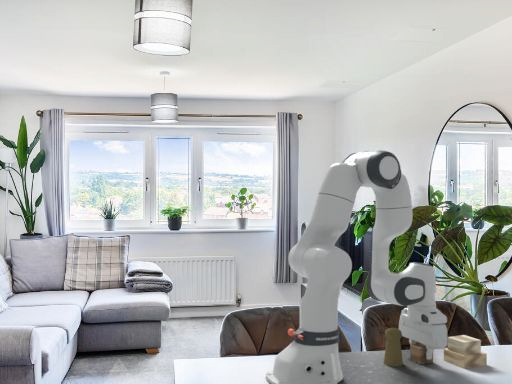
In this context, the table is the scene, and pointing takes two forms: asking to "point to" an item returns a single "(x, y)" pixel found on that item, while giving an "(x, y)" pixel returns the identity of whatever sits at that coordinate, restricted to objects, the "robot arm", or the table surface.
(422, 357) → the walnut cube
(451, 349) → the tower mid
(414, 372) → the table surface
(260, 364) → the table surface
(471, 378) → the table surface
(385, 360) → the cork
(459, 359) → the tower base
